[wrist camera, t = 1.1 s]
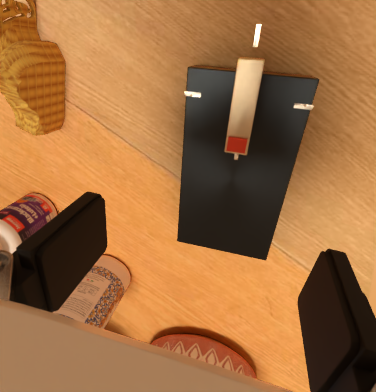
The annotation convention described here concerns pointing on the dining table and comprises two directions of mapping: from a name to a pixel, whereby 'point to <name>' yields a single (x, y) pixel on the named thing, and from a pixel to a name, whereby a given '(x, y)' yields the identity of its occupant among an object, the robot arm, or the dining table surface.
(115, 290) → the bath foam
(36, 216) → the pill bottle
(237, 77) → the tan block
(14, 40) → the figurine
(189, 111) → the dial panel
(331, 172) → the dining table surface
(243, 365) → the planter
